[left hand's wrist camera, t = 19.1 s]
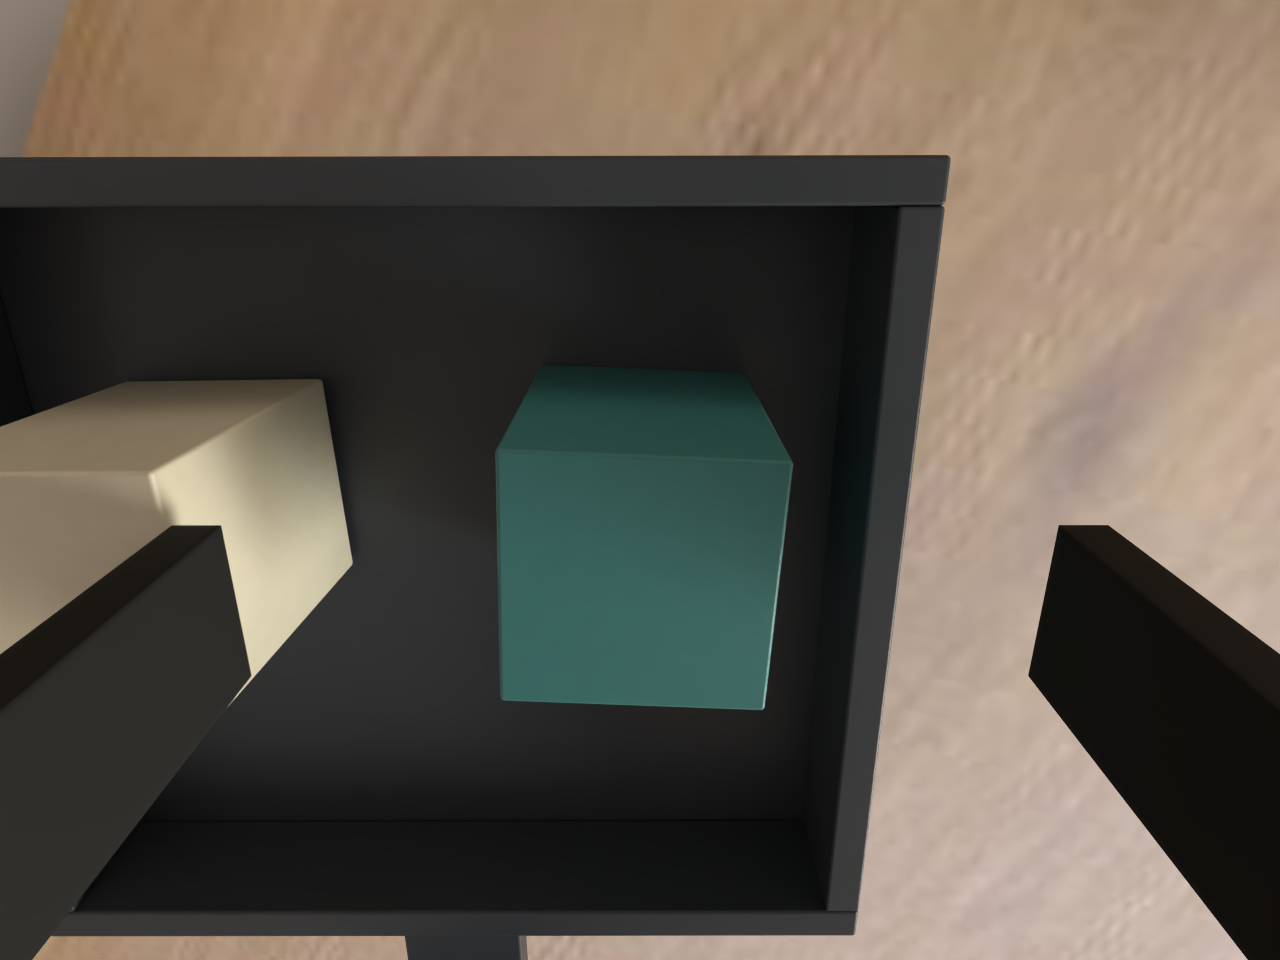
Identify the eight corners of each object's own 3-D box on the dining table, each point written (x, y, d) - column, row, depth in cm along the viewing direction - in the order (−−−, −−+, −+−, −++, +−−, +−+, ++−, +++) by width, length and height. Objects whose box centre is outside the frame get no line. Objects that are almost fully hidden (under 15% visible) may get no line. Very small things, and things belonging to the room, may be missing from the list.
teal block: (541, 363, 18) (494, 448, 12) (745, 372, 18) (794, 462, 12) (540, 549, 19) (499, 702, 14) (728, 557, 19) (764, 712, 14)
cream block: (124, 380, 18) (-136, 473, 12) (323, 377, 18) (150, 471, 12) (171, 563, 19) (-40, 720, 14) (354, 564, 19) (214, 724, 13)
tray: (-43, 162, 17) (-647, 146, 9) (887, 160, 17) (1106, 142, 9) (194, 1017, 26) (-4, 1389, 18) (803, 1016, 26) (876, 1388, 18)
